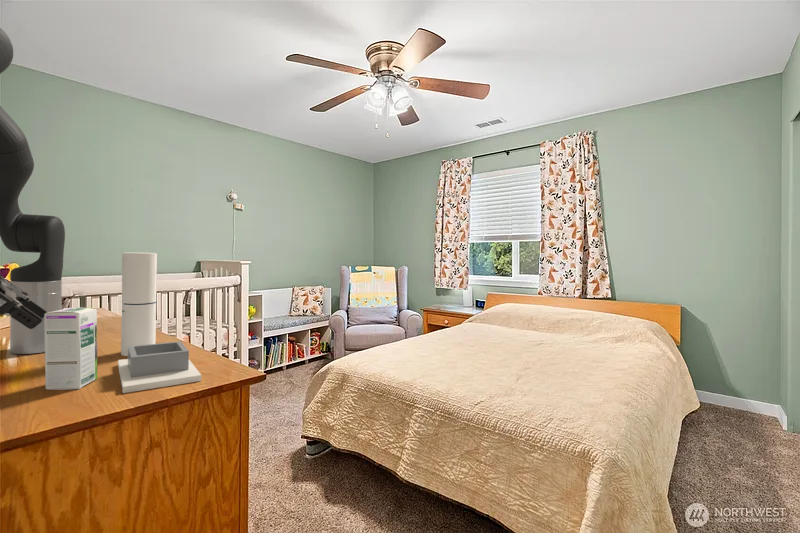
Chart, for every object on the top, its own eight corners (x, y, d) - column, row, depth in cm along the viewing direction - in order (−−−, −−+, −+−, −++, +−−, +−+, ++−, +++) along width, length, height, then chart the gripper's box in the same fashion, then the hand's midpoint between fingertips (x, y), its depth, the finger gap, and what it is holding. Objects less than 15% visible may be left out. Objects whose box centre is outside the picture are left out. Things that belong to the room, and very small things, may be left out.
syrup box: (80, 389, 72) (80, 311, 71) (43, 390, 71) (43, 311, 70) (98, 379, 77) (98, 307, 77) (64, 380, 76) (64, 306, 76)
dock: (118, 365, 87) (118, 342, 86) (183, 357, 95) (184, 336, 94) (122, 393, 71) (123, 365, 71) (201, 380, 79) (201, 355, 79)
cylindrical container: (138, 357, 93) (139, 253, 92) (113, 354, 94) (114, 252, 93) (162, 350, 100) (163, 253, 99) (138, 347, 101) (140, 252, 100)
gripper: (-43, 241, 59) (56, 311, 67) (-20, 241, 71) (63, 301, 78) (-97, 276, 56) (13, 345, 64) (-65, 270, 67) (26, 329, 75)
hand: (40, 320), depth 71 cm, fingers open, 8 cm apart
